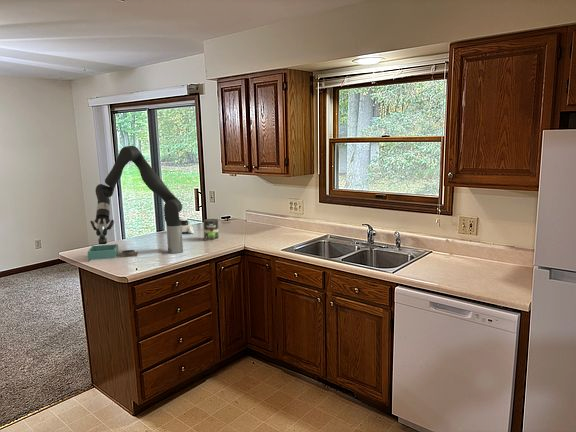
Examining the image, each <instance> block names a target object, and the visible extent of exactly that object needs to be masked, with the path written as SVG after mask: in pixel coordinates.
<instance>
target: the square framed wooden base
mask: <svg viewBox="0 0 576 432" xmlns="http://www.w3.org/2000/svg"><path fill="white" fill-rule="evenodd" d="M138 255H139V251H135V249H126V250H125V249H124V250H121V252H118V254H117V256H116V258H117V259H119V258H131V257H137V256H138Z"/></svg>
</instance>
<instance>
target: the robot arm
mask: <svg viewBox="0 0 576 432" xmlns="http://www.w3.org/2000/svg"><path fill="white" fill-rule="evenodd" d="M130 162H132V163H134V165H135V167H137V169H138V171H139V174H140V177H141V181H143V183H144V184H145V185H146V187H147V188H148V189H149V190H150V191H151V192H152V193H154V194H156V195H157V196H158V197H159V198H161V199H162V200H163V202H164V206H163V215H164V221H165V224H166V225H165V226H166V239H167V241H166V242H167V253H168V254H179V253H183V252H184V247H183V246H184V245H183V234H182V225H181V220H180V219H179V218H180V213H181V211H182V209H183V205H182V202H181V200H179V199H178V197H176V196H175V195H174V194H173V193H172V192H171V190H170V189H169V188H168V186H167V185H166V184H165V182H163V180H162V179H161V178H160V176H159V175H158V173H156V171H155V170H154V169H153V168H152V167H151V165H150V164H149V163H148V161H147V160H146V158H145V157H144V155H143V154H142V152H141V151H140V150H139V148H138V147H137V146H135V145H127V146H124V147H122V148H121V149H120V151H119V152H118V156H117V158H116V160H115V163H114V164H113V166H112V168H111V169H110V171H109V173H108V174H107V176H105V179H104V183H100V184H97V185H96V187H95V195H96V199H97V205H96V213H95V219H94V220H90V224H91V226H92V229H93V230H94V231H95V234H96V236H97V237H99V227H98V224H104V236H105V237H106V235H108V230H109V231H110V230H111V229H112V228H113V226H114V224H115V220H114V219H110V214H111V207H110V206H111V205H110V203H111V201H110V198H111V197H112V196H113V195H114V192H115V188H116V185H117V184H118V182H119V181H120V179H121V177H122V175H123V171H124V169H125V167H126V166H127V164H128V163H130ZM105 184H106V185H105ZM95 224H96V225H95Z"/></svg>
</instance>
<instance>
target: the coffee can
mask: <svg viewBox="0 0 576 432" xmlns="http://www.w3.org/2000/svg"><path fill="white" fill-rule="evenodd" d="M203 235H204V236H203V237H204V238H203V239H204V241H207V242H215V241H218V240H220V238H219V237H220V236H219V219H218V218H207V219H203Z"/></svg>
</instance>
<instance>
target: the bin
mask: <svg viewBox="0 0 576 432" xmlns="http://www.w3.org/2000/svg"><path fill="white" fill-rule="evenodd" d="M119 253H120V252H119V244H114V243H113V244H98V245H92V246H91V247H90V248H89V250H88V251H87V260H88V261H90V262H91V261H93V260H105V259H116V258H117V257H118V255H119Z"/></svg>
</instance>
